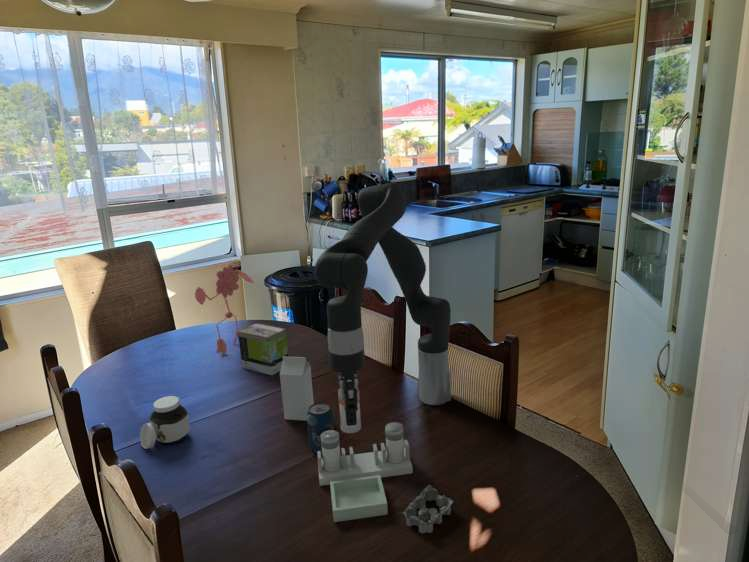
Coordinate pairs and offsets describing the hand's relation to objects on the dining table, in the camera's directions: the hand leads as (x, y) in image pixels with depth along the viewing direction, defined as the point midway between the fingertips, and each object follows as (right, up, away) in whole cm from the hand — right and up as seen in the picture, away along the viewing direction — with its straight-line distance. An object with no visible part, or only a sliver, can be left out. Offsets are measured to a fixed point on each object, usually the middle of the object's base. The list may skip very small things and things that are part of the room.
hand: (350, 418), depth 116 cm
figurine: (-49, +2, +95) cm, 107 cm away
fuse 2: (+11, -15, +18) cm, 26 cm away
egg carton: (+17, -22, +1) cm, 28 cm away
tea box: (-35, -2, +79) cm, 86 cm away
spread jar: (-54, -16, +35) cm, 66 cm away
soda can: (-9, -15, +28) cm, 33 cm away
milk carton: (-18, -11, +45) cm, 50 cm away
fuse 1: (-5, -16, +16) cm, 24 cm away
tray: (+1, -21, +6) cm, 22 cm away
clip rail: (+3, -17, +18) cm, 25 cm away
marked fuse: (0, -2, +1) cm, 2 cm away
